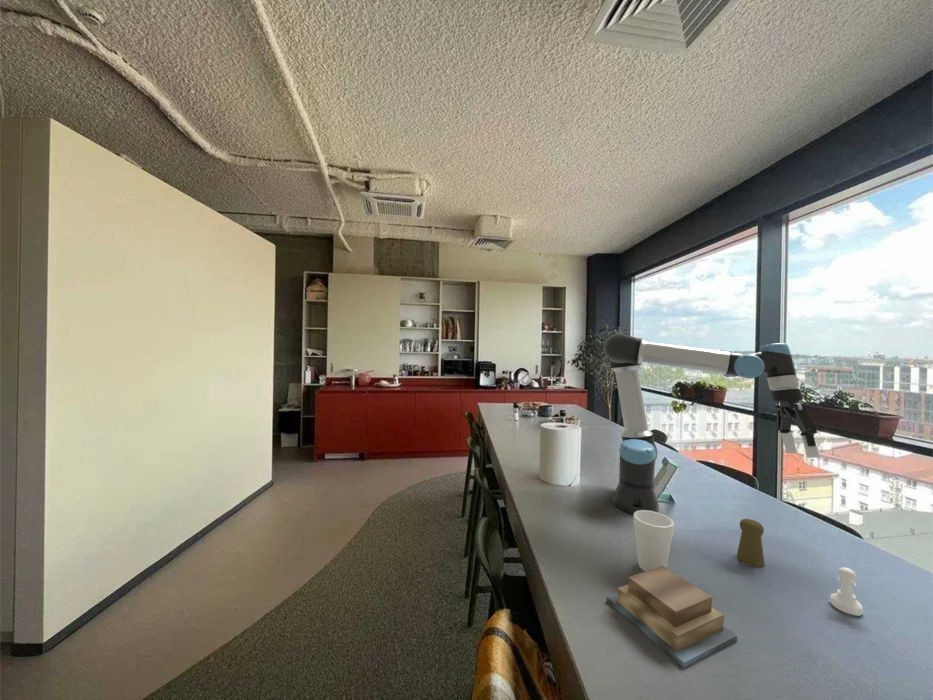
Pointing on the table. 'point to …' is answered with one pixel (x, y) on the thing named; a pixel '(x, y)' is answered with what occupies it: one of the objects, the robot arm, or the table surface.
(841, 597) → the chess pawn
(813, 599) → the table surface
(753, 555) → the cork
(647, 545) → the foam cup
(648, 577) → the stepped wooden pedestal
